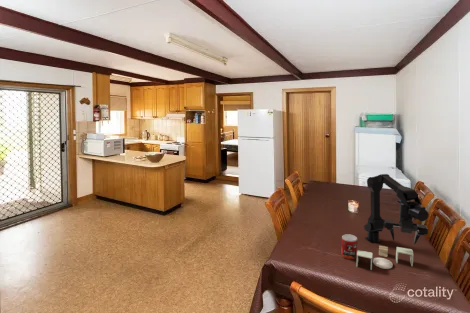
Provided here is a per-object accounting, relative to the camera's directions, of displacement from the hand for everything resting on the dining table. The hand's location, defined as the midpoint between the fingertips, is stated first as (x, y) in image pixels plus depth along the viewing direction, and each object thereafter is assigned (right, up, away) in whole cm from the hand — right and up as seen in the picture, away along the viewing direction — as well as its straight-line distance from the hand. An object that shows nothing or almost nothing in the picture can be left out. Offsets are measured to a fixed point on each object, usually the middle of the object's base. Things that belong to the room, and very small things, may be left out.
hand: (403, 242), depth 137 cm
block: (-6, -10, +9) cm, 15 cm away
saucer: (-11, -11, 0) cm, 16 cm away
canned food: (-25, -11, +8) cm, 28 cm away
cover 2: (+1, -11, +1) cm, 11 cm away
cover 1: (-21, -12, -1) cm, 24 cm away
